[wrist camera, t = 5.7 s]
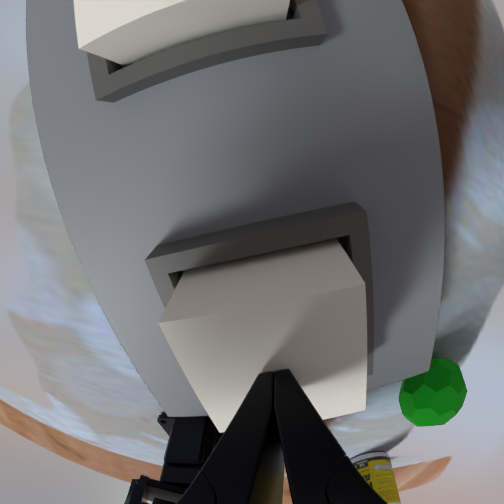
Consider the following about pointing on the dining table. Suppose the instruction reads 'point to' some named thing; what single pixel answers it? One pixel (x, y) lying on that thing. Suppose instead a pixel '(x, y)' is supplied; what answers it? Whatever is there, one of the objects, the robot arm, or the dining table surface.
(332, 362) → the button
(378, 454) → the supplement bottle
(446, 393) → the polyhedron
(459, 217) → the dining table surface
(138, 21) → the button
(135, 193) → the panel
